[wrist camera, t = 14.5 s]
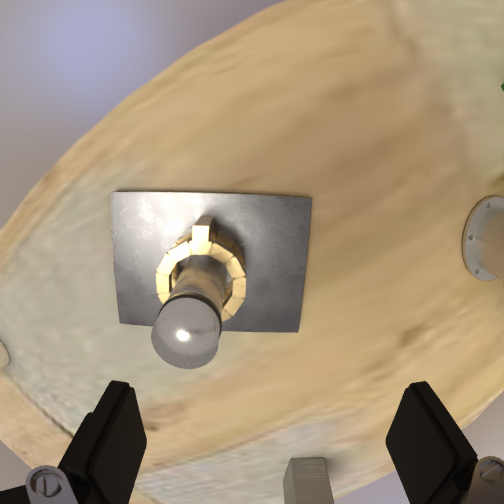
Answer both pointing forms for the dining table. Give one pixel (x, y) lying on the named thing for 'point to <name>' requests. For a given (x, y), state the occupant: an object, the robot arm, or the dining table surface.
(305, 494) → the skincare box
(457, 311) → the dining table surface
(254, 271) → the collar stand
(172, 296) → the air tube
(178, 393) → the dining table surface
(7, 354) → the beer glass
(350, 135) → the dining table surface
